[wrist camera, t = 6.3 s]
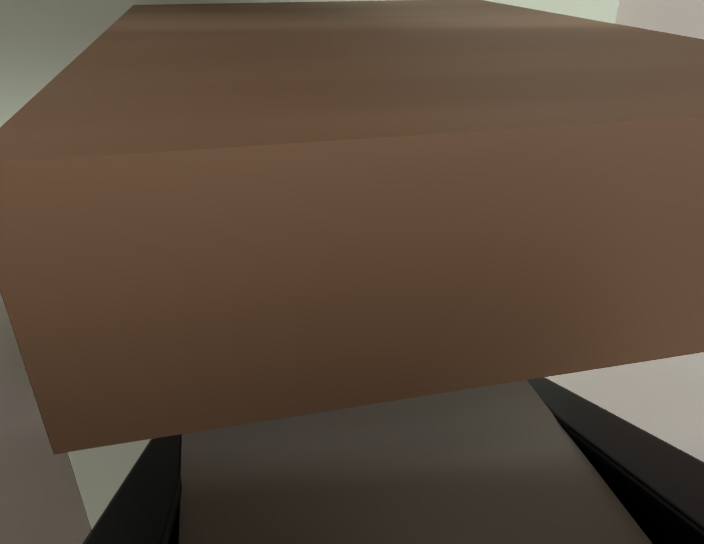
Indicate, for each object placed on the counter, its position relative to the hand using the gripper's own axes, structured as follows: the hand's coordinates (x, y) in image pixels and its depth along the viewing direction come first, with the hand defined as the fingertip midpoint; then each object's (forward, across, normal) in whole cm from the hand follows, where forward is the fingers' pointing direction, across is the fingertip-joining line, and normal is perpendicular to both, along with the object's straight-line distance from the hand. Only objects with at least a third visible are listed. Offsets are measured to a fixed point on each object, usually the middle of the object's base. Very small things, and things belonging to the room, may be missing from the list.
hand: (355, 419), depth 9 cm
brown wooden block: (+2, 0, -5) cm, 6 cm away
